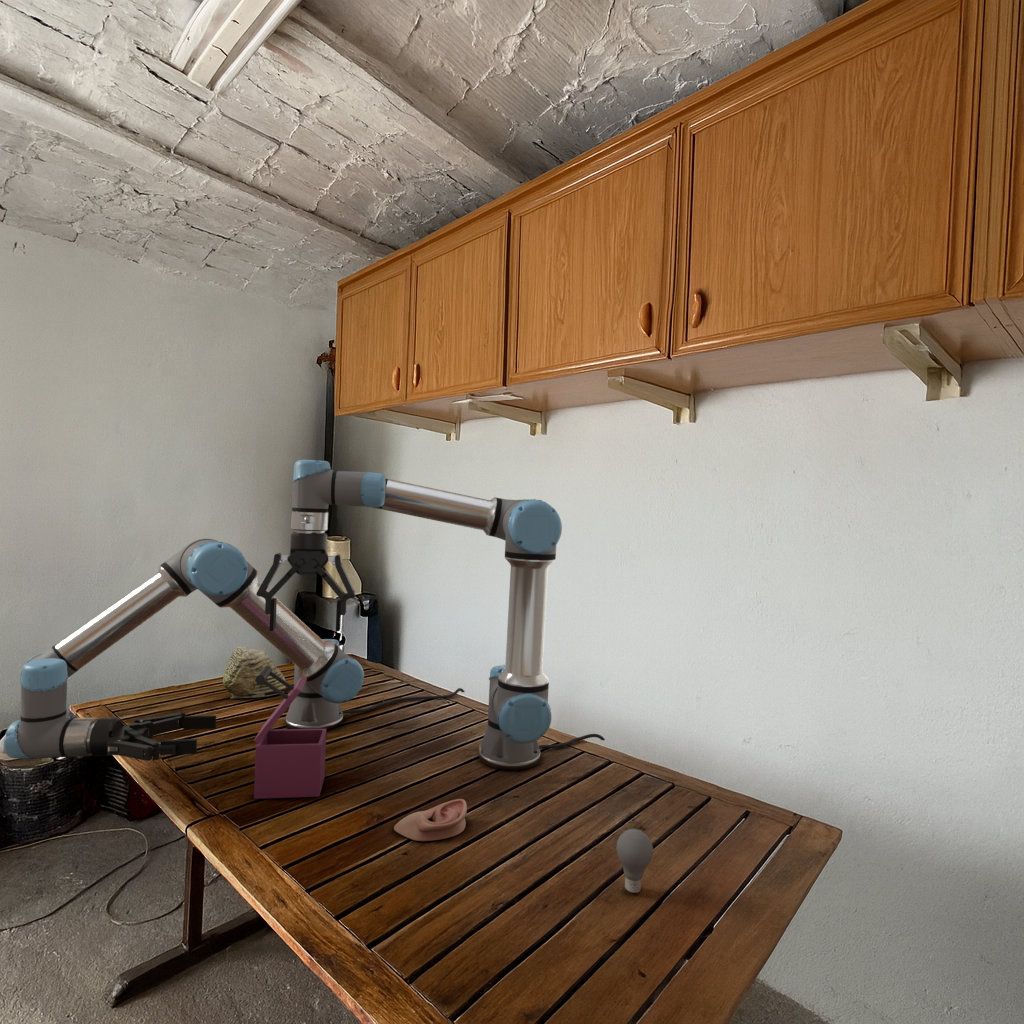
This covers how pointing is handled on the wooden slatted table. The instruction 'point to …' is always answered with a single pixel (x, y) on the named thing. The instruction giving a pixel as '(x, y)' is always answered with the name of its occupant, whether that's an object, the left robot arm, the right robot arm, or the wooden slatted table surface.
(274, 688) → the lid
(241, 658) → the fossil
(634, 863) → the light bulb
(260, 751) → the chest
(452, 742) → the wooden slatted table surface
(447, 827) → the anatomical model
